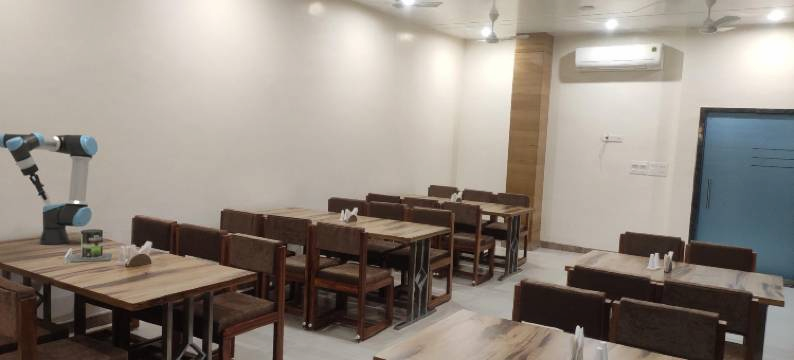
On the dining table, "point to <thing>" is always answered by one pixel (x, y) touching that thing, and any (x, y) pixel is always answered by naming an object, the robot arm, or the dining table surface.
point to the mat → (78, 259)
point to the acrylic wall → (68, 256)
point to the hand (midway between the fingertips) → (47, 201)
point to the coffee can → (91, 244)
